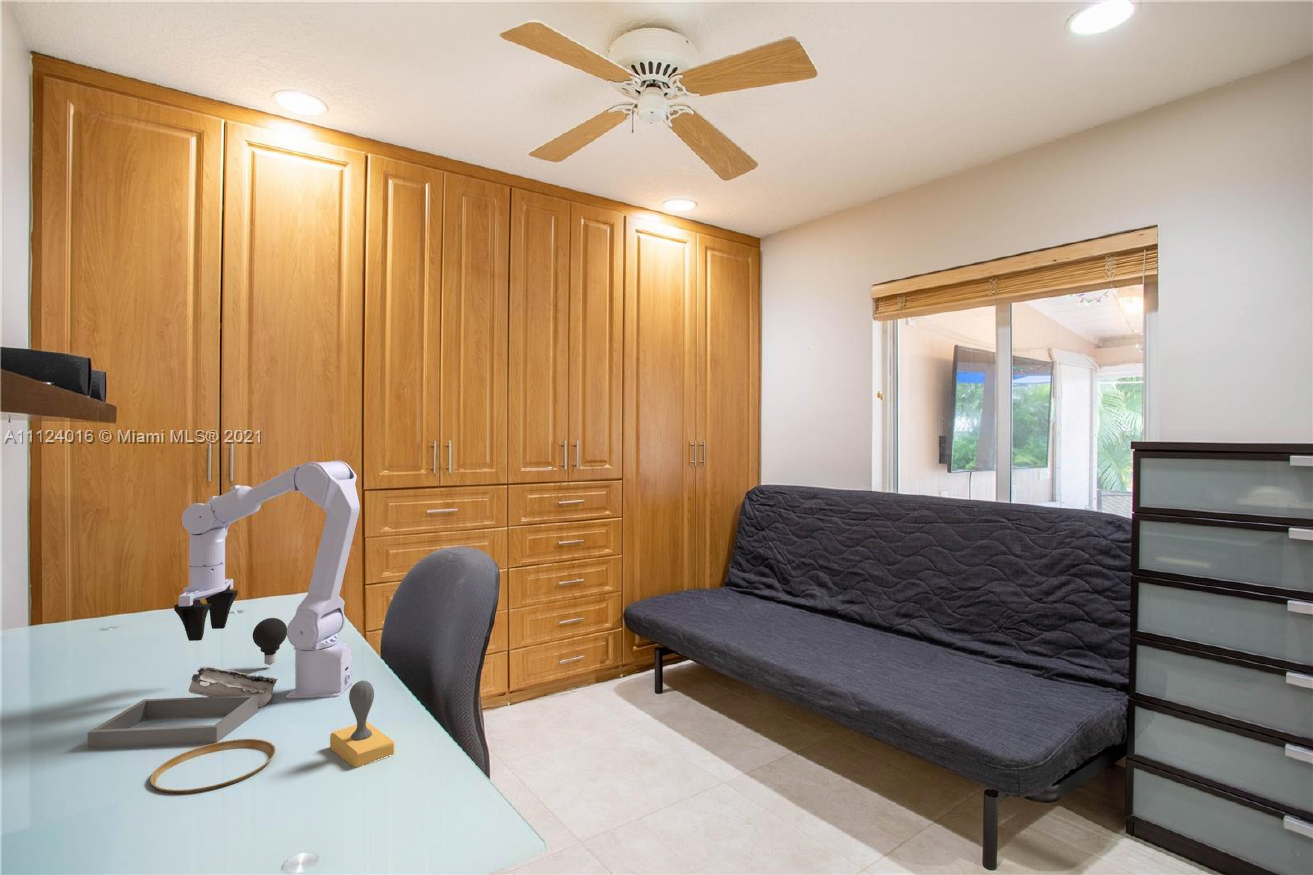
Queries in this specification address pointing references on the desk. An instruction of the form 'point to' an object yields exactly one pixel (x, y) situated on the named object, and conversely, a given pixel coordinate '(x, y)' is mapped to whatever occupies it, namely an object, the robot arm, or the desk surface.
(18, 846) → the desk surface
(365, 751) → the rubber stamp
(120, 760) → the desk surface
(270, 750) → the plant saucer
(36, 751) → the desk surface
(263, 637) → the light bulb
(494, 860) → the desk surface
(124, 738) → the box
